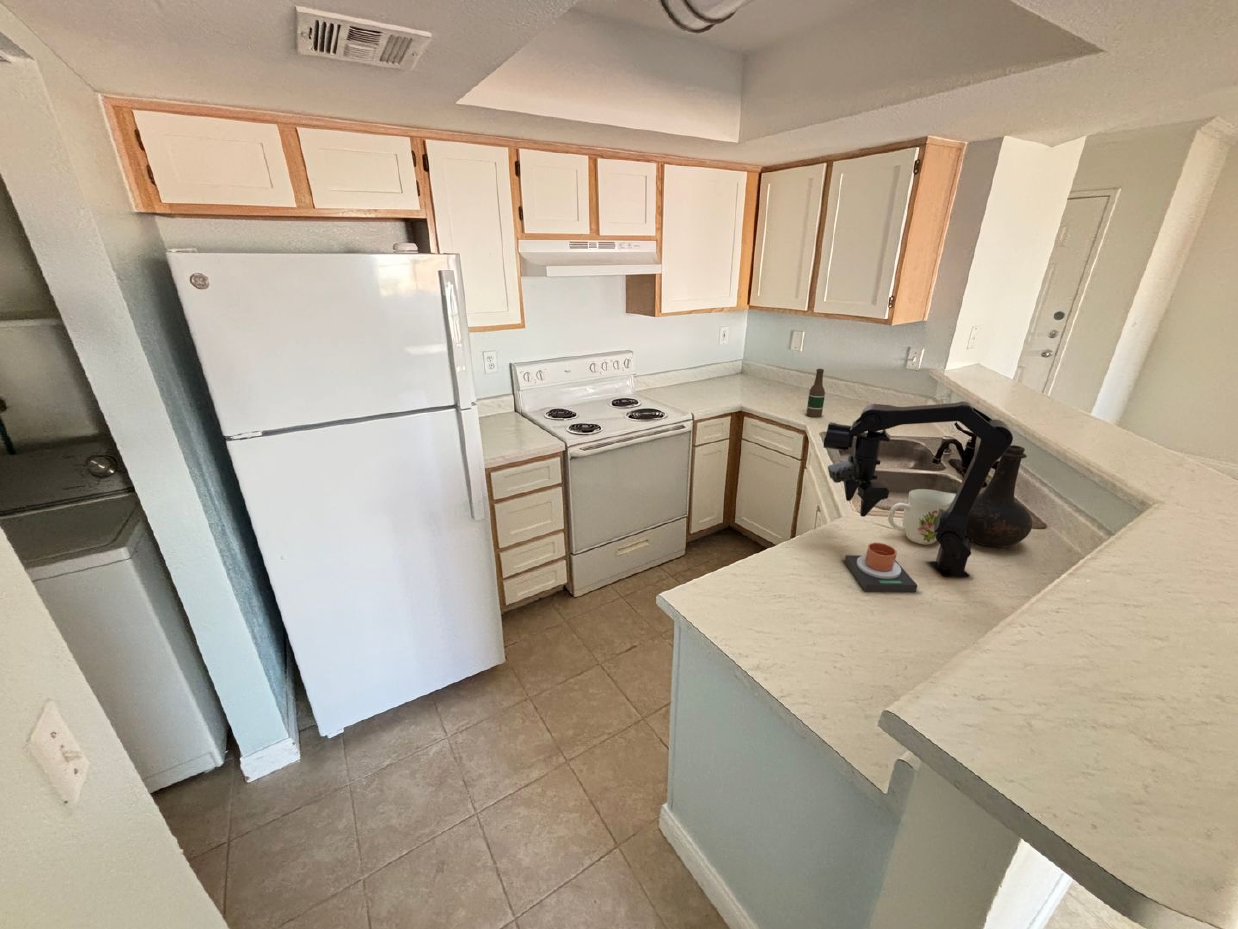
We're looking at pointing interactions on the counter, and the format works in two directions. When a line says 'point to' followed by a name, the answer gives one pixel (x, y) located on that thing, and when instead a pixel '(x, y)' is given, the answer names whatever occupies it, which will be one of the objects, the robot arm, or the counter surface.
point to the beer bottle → (816, 396)
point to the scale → (880, 576)
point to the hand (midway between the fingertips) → (855, 508)
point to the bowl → (880, 556)
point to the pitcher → (921, 514)
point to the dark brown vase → (1000, 506)
